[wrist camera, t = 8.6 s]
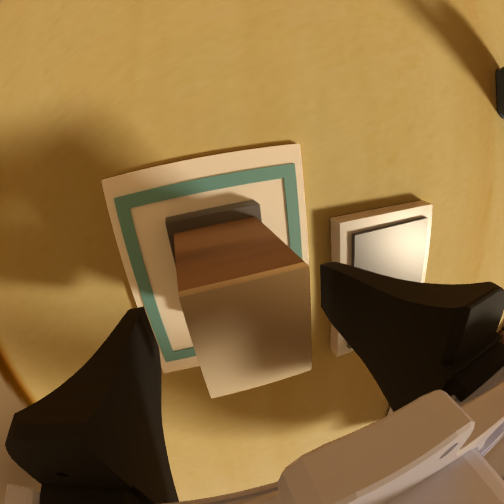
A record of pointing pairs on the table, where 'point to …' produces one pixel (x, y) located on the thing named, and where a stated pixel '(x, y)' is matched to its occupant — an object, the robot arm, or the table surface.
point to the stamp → (241, 297)
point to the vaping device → (500, 91)
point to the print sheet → (188, 200)
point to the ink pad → (382, 246)
